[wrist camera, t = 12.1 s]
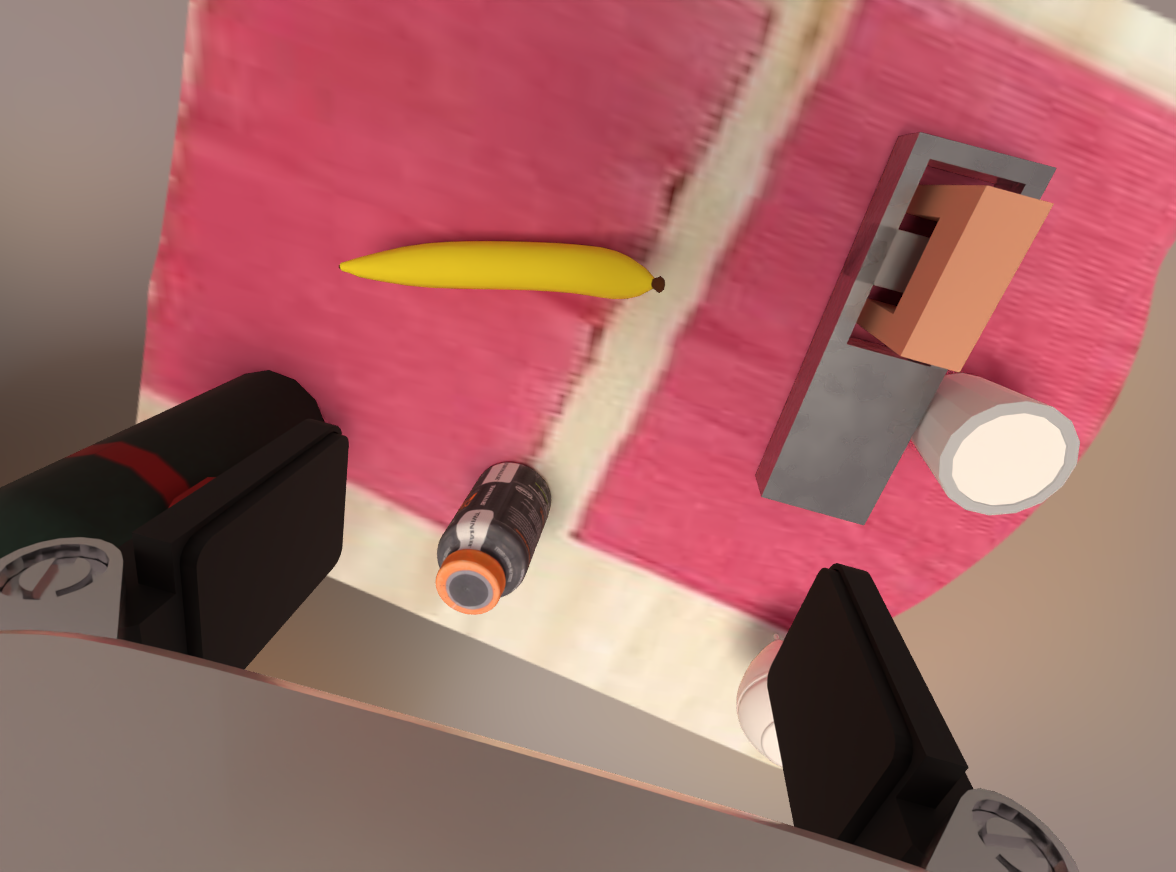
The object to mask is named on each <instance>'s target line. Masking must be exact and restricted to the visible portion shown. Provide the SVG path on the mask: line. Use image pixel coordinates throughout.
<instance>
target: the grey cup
mask: <svg viewBox="0 0 1176 872" xmlns="http://www.w3.org/2000/svg"><path fill="white" fill-rule="evenodd" d="M911 441H912V442H913V444H914V445H915V447H916V448H917V450H918V451H919V453H920V455H921V456H922V458H923V459H924V461H925V462H926V464H927V465H928V467H929V468H930V470H931V471H932V473H933V474H934V476H935V478H936V479H937V481H938V482H939V484H940V485H941V487H942V488H943V490H944V491H945V493H946V494H947V496H948V497H949V498H950V499H952V500H953V501H954V502H956V503H957V504H959V505H960V506H961V507H963V508H964V509H965V510H969V511H973V512H978V513H982V514H986V515H998V514H1009V513H1017V512H1019V511H1022V510H1024V509H1027V508H1030V507H1032V506H1035V505H1037V504H1040V503H1042V502H1043V501H1044V500H1046V499H1047V498H1048V497H1050V496H1051V495H1052V494H1053V493H1055V492H1056V491H1057V490H1059V488H1061V487H1062V486H1063V485H1064V484H1065V482H1066V481H1067V479H1068V477H1069V476H1070V474H1071V473H1072V471H1073V470H1074V468H1075V466H1076V465H1077V459H1078V452H1079V445H1080V441H1079V438H1078V436H1077V433H1076V431H1075V428H1074V426H1073V423H1072V421H1070V420H1069V419H1068V418H1067V417H1065V416H1064V415H1063V414H1061V413H1060V412H1059V411H1058V410H1056V409H1055V408H1054V407H1052V406H1049V405H1047V404H1045V403H1042V402H1040V401H1037V400H1035V399H1032V398H1030V397H1028V396H1025V395H1023V394H1020V393H1018V392H1016V391H1013V390H1011V389H1008V388H1006V387H1004V386H1001V385H999V384H996V383H994V382H991V381H989V380H987V379H984V378H982V377H979V376H975V375H970V374H966V373H956V374H949V375H945V376H944V378H943V380H942V382H941V384H940V385H939V387H938V389H937V391H936V393H935V395H934V397H933V398H932V400H931V402H930V404H929V406H928V408H927V410H926V411H925V413H924V415H923V417H922V419H921V421H920V423H919V424H918V426H917V428H916V430H915V432H914V434H913V435H912V437H911Z"/></svg>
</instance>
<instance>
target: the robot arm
mask: <svg viewBox="0 0 1176 872" xmlns="http://www.w3.org/2000/svg"><path fill="white" fill-rule="evenodd" d="M348 448H349V441H348V438H347V437H346V436H344V435H342V432H341V429H340V428H339V427H338V426H335V425H332V424H328V423H324V422H321V421H317V420H313V419H306V420H304V421H302V422H301V423H299V424H298V425H296V426H295V427H293V428H291V429H290V430H288V431H287V432H285V433H284V434H282V435H281V436H279V437H278V438H276V439H275V440H273V441H271V442H270V443H268V444H267V445H265V446H264V447H262V448H261V449H259V450H258V451H256V452H255V453H253V454H251V455H250V456H248V457H247V458H245V459H244V460H242V461H241V462H239V463H238V464H236V465H234V466H233V467H231V468H230V469H228V470H227V471H225V472H224V473H222V474H221V475H219V476H218V477H216V478H214V479H213V480H211V481H210V482H208V483H207V484H205V485H204V486H202V487H201V488H199V489H198V490H196V491H194V492H193V493H191V494H190V495H188V496H187V497H185V498H184V499H182V500H181V501H179V502H177V503H176V504H174V505H173V506H171V507H170V508H168V509H167V510H165V511H164V512H162V513H161V514H159V515H157V516H156V517H154V518H153V519H151V520H150V521H148V522H147V523H145V524H144V525H142V526H141V527H139V528H137V529H136V530H134V531H133V532H132V538H131V539H130V540H128V541H127V542H125V543H124V544H122V545H121V546H119V547H118V548H117V547H115V546H114V545H113V544H111V543H108V542H106V541H103V540H100V539H93V538H85V537H75V538H60V539H55V540H49V541H44V542H39V543H36V544H33V545H30V546H27V547H24V548H21V549H18V550H16V551H14V552H12V553H10V554H8V555H6V556H4V557H2V558H1V559H0V872H1079V870H1078V867H1077V865H1076V863H1075V861H1074V859H1073V858H1072V856H1071V855H1070V854H1069V852H1068V850H1067V849H1066V847H1065V846H1064V845H1063V843H1062V842H1061V841H1060V840H1059V839H1058V838H1057V836H1056V835H1055V834H1054V833H1053V832H1052V831H1051V830H1050V829H1049V828H1048V827H1047V826H1046V825H1045V824H1044V823H1043V822H1042V821H1041V820H1040V819H1038V818H1037V817H1036V816H1035V815H1034V814H1033V813H1031V812H1030V811H1029V810H1027V809H1026V808H1024V807H1023V806H1021V805H1020V804H1018V803H1017V802H1015V801H1014V800H1012V799H1010V798H1008V797H1006V796H1004V795H1002V794H999V793H997V792H995V791H990V790H985V789H981V788H978V789H973V787H972V785H971V783H970V781H969V779H968V778H967V775H966V773H965V771H966V770H967V769H968V765H967V764H966V762H965V759H964V758H963V756H962V754H961V752H960V750H959V748H958V746H957V744H956V742H955V740H954V738H953V736H952V734H951V732H950V730H949V728H948V726H947V724H946V722H945V720H944V718H943V716H942V715H941V713H940V711H939V709H938V707H937V705H936V703H935V701H934V699H933V697H932V695H931V693H930V691H929V689H928V687H927V686H926V683H925V681H924V680H923V677H922V675H921V673H920V671H919V670H918V668H917V666H916V664H915V662H914V660H913V658H912V656H911V654H910V652H909V650H908V648H907V646H906V644H905V642H904V640H903V638H902V636H901V634H900V632H899V630H898V629H897V627H896V625H895V623H894V621H893V619H892V617H891V615H890V613H889V611H888V609H887V607H886V605H885V603H884V601H883V599H882V597H881V595H880V593H879V591H878V589H877V587H876V585H875V583H874V581H873V580H872V578H871V576H870V574H869V573H868V572H866V571H864V570H860V569H856V568H853V567H849V566H845V565H842V564H838V563H836V564H833V565H832V566H831V567H830V568H829V569H828V568H822V569H821V570H820V571H819V573H818V575H817V576H816V578H815V580H814V582H813V584H812V586H811V588H810V590H809V592H808V594H807V596H806V598H805V600H804V602H803V604H802V606H801V608H800V610H799V612H798V614H797V616H796V617H795V619H794V621H793V623H792V625H791V627H790V629H789V631H788V633H787V635H786V637H785V639H784V641H783V643H782V645H781V647H780V649H779V651H778V653H777V655H776V657H775V659H774V660H773V662H772V664H771V666H770V669H769V672H768V677H767V689H768V694H769V699H770V704H771V709H772V714H773V720H774V725H775V730H776V735H777V740H778V745H779V751H780V756H781V761H782V766H783V771H784V777H785V782H786V787H787V792H788V797H789V802H790V808H791V812H792V818H793V823H794V826H790V825H787V824H784V823H780V822H777V821H774V820H771V819H768V818H764V817H761V816H758V815H754V814H751V813H747V812H744V811H741V810H737V809H734V808H730V807H727V806H723V805H720V804H717V803H713V802H710V801H706V800H702V799H699V798H696V797H692V796H689V795H685V794H682V793H679V792H675V791H672V790H669V789H665V788H662V787H658V786H655V785H651V784H648V783H644V782H641V781H637V780H634V779H631V778H627V777H624V776H621V775H617V774H614V773H610V772H607V771H603V770H600V769H596V768H593V767H589V766H586V765H582V764H579V763H575V762H572V761H568V760H565V759H561V758H558V757H554V756H551V755H547V754H543V753H540V752H537V751H533V750H530V749H526V748H523V747H519V746H516V745H512V744H509V743H505V742H502V741H498V740H494V739H491V738H488V737H484V736H481V735H477V734H473V733H470V732H467V731H463V730H460V729H456V728H452V727H449V726H445V725H441V724H438V723H435V722H431V721H428V720H424V719H421V718H417V717H414V716H410V715H406V714H403V713H399V712H395V711H392V710H388V709H385V708H381V707H378V706H374V705H371V704H367V703H363V702H360V701H356V700H352V699H349V698H345V697H342V696H338V695H335V694H331V693H327V692H324V691H320V690H316V689H313V688H309V687H306V686H302V685H299V684H295V683H292V682H288V681H284V680H281V679H277V678H274V677H270V676H266V675H262V674H259V673H255V672H251V671H247V670H244V669H245V668H246V667H247V666H248V665H249V663H250V662H251V661H252V660H253V659H254V658H255V657H256V655H257V654H258V653H259V652H260V651H261V650H262V649H263V648H264V646H265V645H266V644H267V643H268V642H269V640H271V638H272V637H273V636H274V635H275V634H276V633H277V632H278V630H279V629H280V628H281V627H282V625H284V623H285V622H286V621H287V620H288V619H289V618H290V617H291V616H292V614H293V613H294V612H295V611H296V610H297V609H298V608H299V606H300V605H301V604H302V603H303V602H304V601H305V600H306V598H307V597H308V596H309V595H310V594H311V593H312V592H313V590H314V589H315V588H316V587H317V586H318V585H319V583H320V582H321V581H322V580H323V579H324V578H325V577H326V576H327V574H328V573H329V572H330V571H331V570H332V569H333V567H334V566H335V565H336V563H337V562H338V560H339V557H340V555H341V551H342V544H343V528H344V512H345V496H346V480H347V464H348Z"/></svg>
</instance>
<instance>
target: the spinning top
mask: <svg viewBox="0 0 1176 872" xmlns="http://www.w3.org/2000/svg"><path fill="white" fill-rule="evenodd" d="M774 640H775V641H773V642H772V643H770V644H769V645H767V646H766V647H765V648H764V649H763V650H762V651H761V652H760V653H759V654H758V655H757V656H756V658H755V659H754V660H753V661H752V662H751V664H750V665H749V667H748V669H747V671H746V673H745V674H744V676H743V678H742V681H741V683H740V686H739V689H738V693H737V715H738V719H739V722H740V725H741V728H742V730H743V732H744V734H745V736H746V737H747V739H748V740H749V741H750V743H751V744H752V745H753V746H754V747H755V748H756V749H757V750H758V751H759V752H760V753H761V754H763V755H764V756H765V757H767V758H768V759H769V760H770V761H772V762H773V763H775V764H776V765H778V766H780V767H783V766H782V761H781V756H780V751H779V745H778V740H777V735H776V730H775V725H774V720H773V714H772V709H771V704H770V699H769V694H768V689H767V677H768V672H769V669H770V666H771V664H772V662H773V660H774V659H775V657H776V655H777V653H778V651H779V649H780V647H781V645H782V643H783V641H782V640H779V635H778V634H774Z"/></svg>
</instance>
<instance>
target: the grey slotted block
mask: <svg viewBox="0 0 1176 872" xmlns="http://www.w3.org/2000/svg"><path fill="white" fill-rule="evenodd" d="M926 166H930V167H933V168H937V169H941V170H945V171H949V172H952V173H956V174H960V175H964V176H967V177H971V178H975V179H979V180H982V181H986V182H990V183H994V184H995V186H994V187H995V188H998V189H1002V190H1006V191H1009V192H1013V193H1017V194H1020V195H1024V196H1028V197H1031V198H1035V199H1039V200H1040V198H1041V196H1042V194H1043V193H1044V191H1045V189H1046V187H1047V185H1048V183H1049V181H1050V180H1051V178H1052V176H1053V174H1054V172H1055V170H1056V168H1055V167H1051V166H1047V165H1043V164H1040V163H1036V162H1032V161H1028V160H1024V159H1021V158H1017V157H1013V156H1009V155H1005V154H1002V153H998V152H994V151H990V150H986V149H983V148H979V147H975V146H971V145H968V144H964V143H960V142H956V141H952V140H949V139H945V138H941V137H937V136H933V135H930V134H926V133H922V132H918V133H913V134H908V135H903V136H898V139H897V141H896V143H895V146H894V148H893V151H892V153H891V155H890V158H889V160H888V162H887V165H886V167H885V169H884V172H883V174H882V177H881V179H880V181H879V184H878V186H877V188H876V191H875V193H874V196H873V198H872V200H871V203H870V205H869V207H868V210H867V212H866V215H865V217H864V219H863V222H862V224H861V226H860V229H859V231H858V233H857V236H856V238H855V241H854V243H853V245H852V248H851V250H850V252H849V255H848V257H847V260H846V262H845V264H844V267H843V269H842V271H841V274H840V276H839V278H838V281H837V283H836V286H835V288H834V290H833V293H832V295H831V297H830V300H829V302H828V305H827V307H826V309H825V312H824V314H823V316H822V319H821V321H820V324H819V326H818V328H817V331H816V333H815V335H814V338H813V340H812V342H811V345H810V347H809V350H808V352H807V354H806V357H805V359H804V361H803V364H802V366H801V369H800V371H799V373H798V376H797V378H796V380H795V383H794V385H793V387H792V390H791V392H790V395H789V397H788V399H787V402H786V404H785V406H784V409H783V411H782V414H781V416H780V418H779V421H778V423H777V425H776V428H775V430H774V433H773V435H772V437H771V440H770V442H769V444H768V447H767V449H766V451H765V454H764V456H763V459H762V461H761V463H760V466H759V468H758V470H757V473H756V475H755V477H756V480H757V484H758V487H759V490H760V494H761V497H764V498H768V499H771V500H775V501H778V502H782V503H786V504H789V505H793V506H796V507H800V508H804V509H807V510H811V511H814V512H818V513H822V514H825V515H829V516H832V517H836V518H840V519H843V520H847V521H850V522H854V523H858V524H861V525H864V524H865V523H866V521H867V519H868V517H869V515H870V513H871V512H872V510H873V508H874V506H875V504H876V502H877V500H878V499H879V497H880V495H881V493H882V491H883V489H884V487H885V486H886V484H887V482H888V480H889V478H890V476H891V474H892V473H893V471H894V469H895V467H896V465H897V463H898V461H899V460H900V458H901V456H902V454H903V452H904V450H905V448H906V447H907V445H908V443H909V441H910V439H911V437H912V435H913V434H914V432H915V430H916V428H917V426H918V424H919V423H920V421H921V419H922V417H923V415H924V413H925V411H926V410H927V408H928V406H929V404H930V402H931V400H932V398H933V397H934V395H935V393H936V391H937V389H938V387H939V385H940V384H941V382H942V380H943V378H944V376H945V374H946V372H947V371H948V369H945V368H941V367H938V366H934V365H930V364H927V363H923V362H920V361H916V360H913V359H909V358H905V357H902V356H900V355H898V354H897V353H896V352H894V351H893V350H892V349H890V348H889V347H887V346H883V345H879V344H875V343H872V342H868V341H864V340H861V339H857V338H853V337H850V335H851V333H852V331H853V328H854V326H855V324H856V322H857V320H858V317H859V315H860V313H861V311H862V308H863V306H864V304H865V302H866V300H867V297H868V295H869V293H870V291H871V288H872V286H873V285H876V286H879V287H883V288H887V289H891V290H894V291H898V292H902V293H904V291H905V289H906V287H907V285H908V283H909V281H910V279H911V277H912V275H913V273H914V271H915V268H916V266H917V264H918V262H919V260H920V258H921V256H922V254H923V252H924V250H925V248H926V246H927V244H928V242H929V240H930V238H928V237H925V236H921V235H917V234H913V233H910V232H906V231H902V230H899V229H898V228H899V226H900V224H901V222H902V219H903V217H904V215H905V213H906V211H907V208H908V206H909V204H910V202H911V199H912V197H913V195H914V193H915V191H916V188H917V186H918V184H919V182H920V179H921V177H922V175H923V173H924V171H925V168H926Z"/></svg>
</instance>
